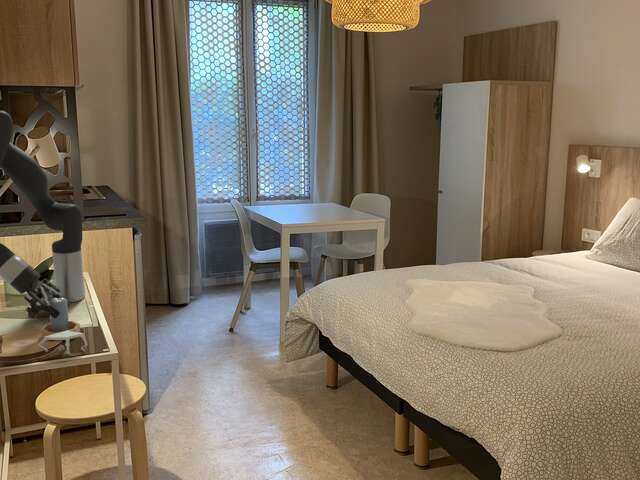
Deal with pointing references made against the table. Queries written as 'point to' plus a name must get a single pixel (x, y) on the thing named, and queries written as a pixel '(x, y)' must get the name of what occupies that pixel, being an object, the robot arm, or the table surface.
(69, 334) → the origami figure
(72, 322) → the terracotta bowl
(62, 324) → the pebble cup
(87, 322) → the table surface
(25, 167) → the robot arm
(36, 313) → the pottery mug
